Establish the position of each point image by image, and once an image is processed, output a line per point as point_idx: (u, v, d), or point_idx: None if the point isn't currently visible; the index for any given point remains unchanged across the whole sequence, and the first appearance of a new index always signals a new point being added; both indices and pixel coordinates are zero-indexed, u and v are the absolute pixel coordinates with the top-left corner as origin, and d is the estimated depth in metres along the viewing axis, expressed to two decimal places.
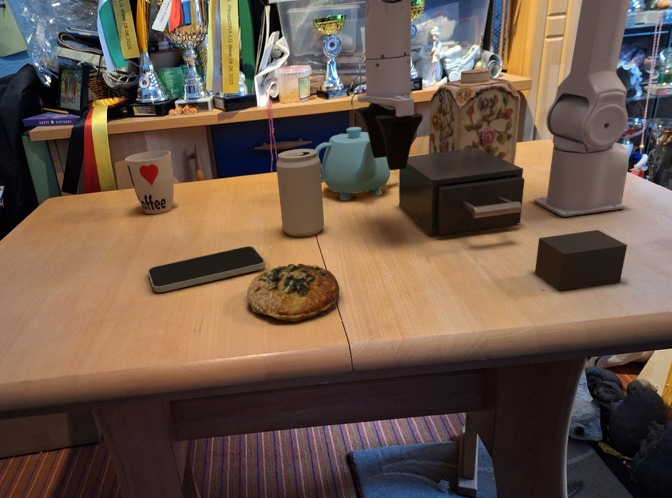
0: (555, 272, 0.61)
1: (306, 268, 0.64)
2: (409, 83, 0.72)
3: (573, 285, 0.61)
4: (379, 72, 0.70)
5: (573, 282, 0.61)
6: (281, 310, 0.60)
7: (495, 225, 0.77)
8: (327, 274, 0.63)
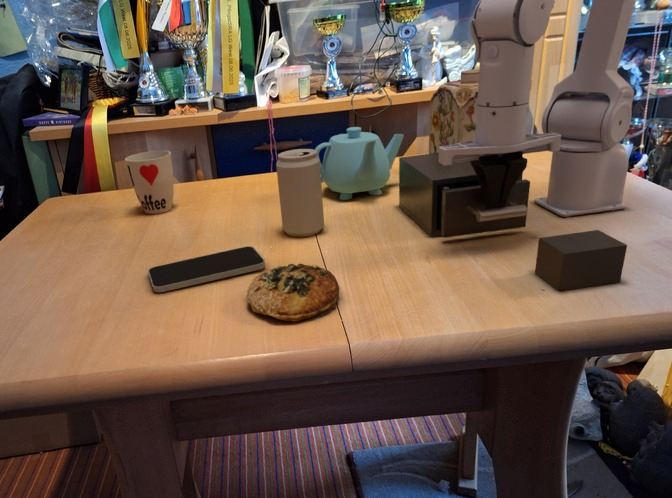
0: (555, 272, 0.61)
1: (306, 268, 0.64)
2: (496, 137, 0.66)
3: (573, 285, 0.61)
4: None
5: (573, 282, 0.61)
6: (281, 310, 0.60)
7: (500, 228, 0.76)
8: (327, 274, 0.63)
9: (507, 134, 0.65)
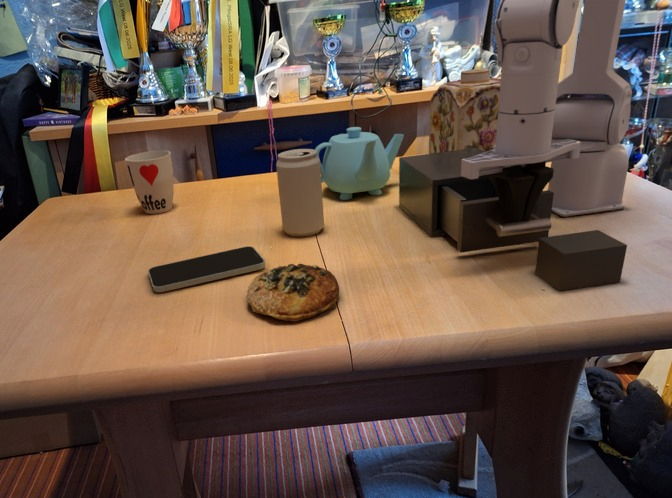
0: (555, 272, 0.61)
1: (306, 268, 0.64)
2: (524, 146, 0.61)
3: (573, 285, 0.61)
4: (497, 125, 0.63)
5: (573, 282, 0.61)
6: (281, 310, 0.60)
7: (521, 243, 0.71)
8: (327, 274, 0.63)
9: (537, 143, 0.60)
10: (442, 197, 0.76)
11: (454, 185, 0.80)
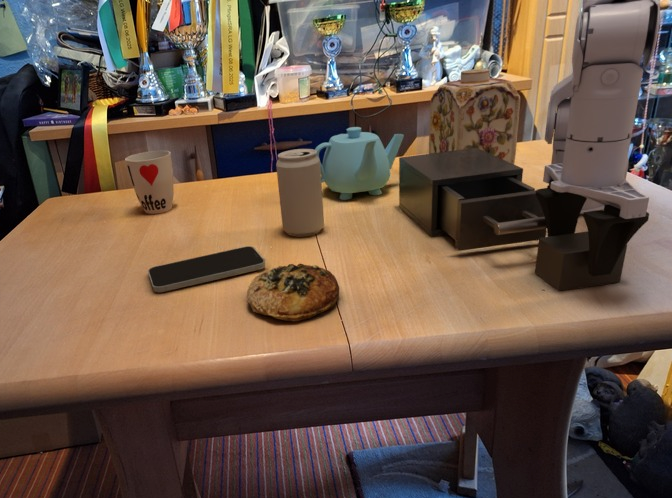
0: (555, 272, 0.61)
1: (306, 268, 0.64)
2: (624, 170, 0.56)
3: (573, 285, 0.61)
4: (592, 158, 0.55)
5: (573, 282, 0.61)
6: (281, 310, 0.60)
7: (518, 241, 0.71)
8: (327, 274, 0.63)
9: None
10: (440, 195, 0.77)
11: (452, 184, 0.80)
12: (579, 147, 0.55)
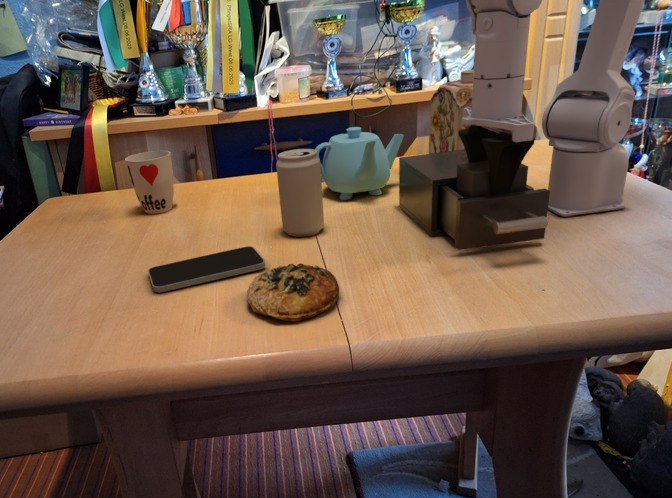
0: (468, 191, 0.71)
1: (306, 268, 0.64)
2: (521, 104, 0.66)
3: None
4: (491, 93, 0.65)
5: None
6: (281, 310, 0.60)
7: (517, 240, 0.72)
8: (327, 274, 0.63)
9: None
10: (439, 195, 0.77)
11: (452, 184, 0.81)
12: (481, 84, 0.65)
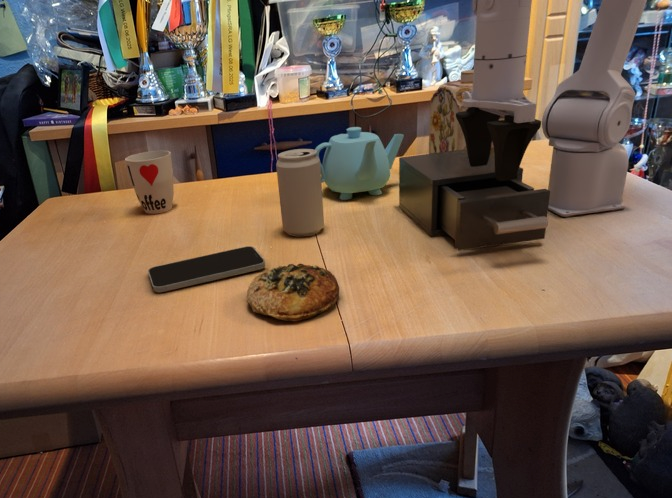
0: None
1: (306, 268, 0.64)
2: (523, 86, 0.66)
3: None
4: (493, 74, 0.64)
5: None
6: (281, 310, 0.60)
7: (518, 240, 0.71)
8: (327, 274, 0.63)
9: None
10: (439, 195, 0.77)
11: (452, 184, 0.81)
12: (482, 65, 0.65)
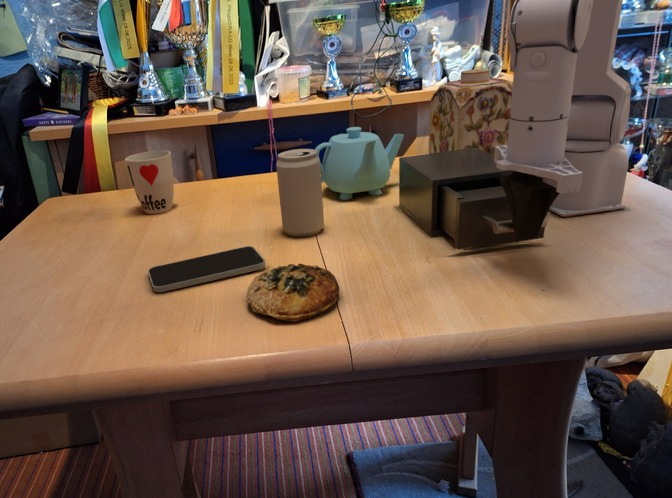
0: None
1: (306, 268, 0.64)
2: (564, 148, 0.59)
3: None
4: (532, 137, 0.58)
5: None
6: (281, 310, 0.60)
7: (517, 240, 0.72)
8: (327, 274, 0.63)
9: None
10: (439, 195, 0.77)
11: (451, 183, 0.81)
12: (520, 126, 0.58)
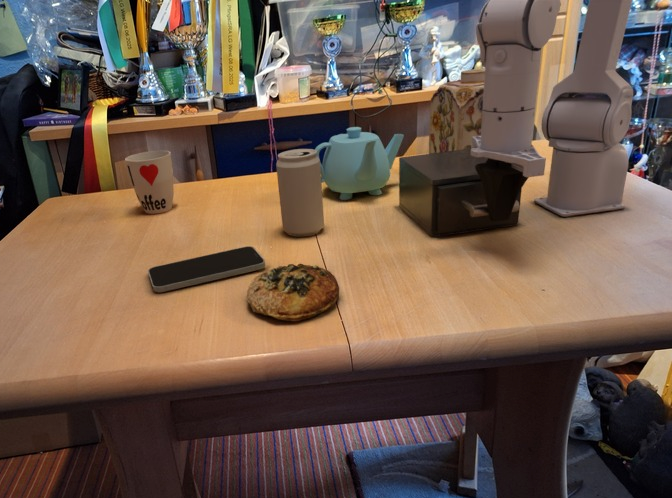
0: None
1: (306, 268, 0.64)
2: (531, 137, 0.65)
3: None
4: (501, 126, 0.64)
5: None
6: (281, 310, 0.60)
7: (493, 224, 0.77)
8: (327, 274, 0.63)
9: None
10: None
11: None
12: (491, 117, 0.64)
